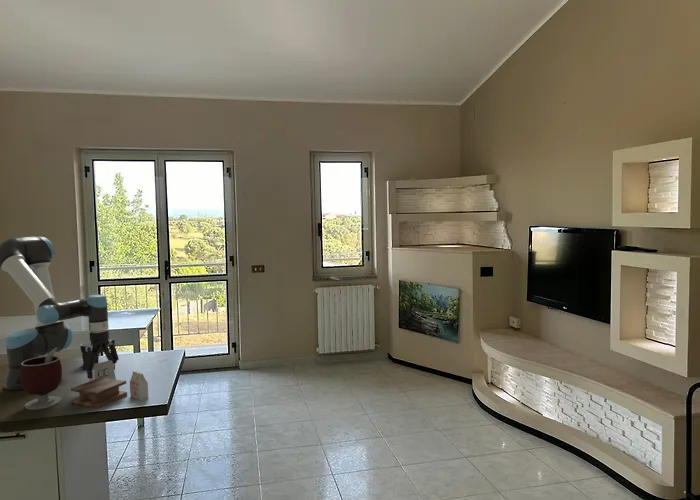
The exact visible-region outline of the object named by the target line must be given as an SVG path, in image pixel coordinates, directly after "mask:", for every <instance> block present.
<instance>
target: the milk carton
mask: <svg viewBox="0 0 700 500" xmlns="http://www.w3.org/2000/svg"><path fill="white" fill-rule="evenodd" d="M129 393H130V398H133V399H135V400H139V401H141V400H145V399H148V398H149V385H148V381H147V379H146V378H145V376H144V374H143V373H142V372H137V371H135V370H134V371H132V375H131V377H130V380H129Z"/></svg>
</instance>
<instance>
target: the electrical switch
mask: <svg viewBox="0 0 700 500" xmlns="http://www.w3.org/2000/svg"><path fill="white" fill-rule="evenodd" d="M93 370H94V373H95V379H98V378H101V377H102V378H109V379H116V373H115V370H114V367H113V362H112V360H109V361H108V360H105V361H101V362H98V363H97V364H94V367H93ZM116 380H117V379H116Z"/></svg>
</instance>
